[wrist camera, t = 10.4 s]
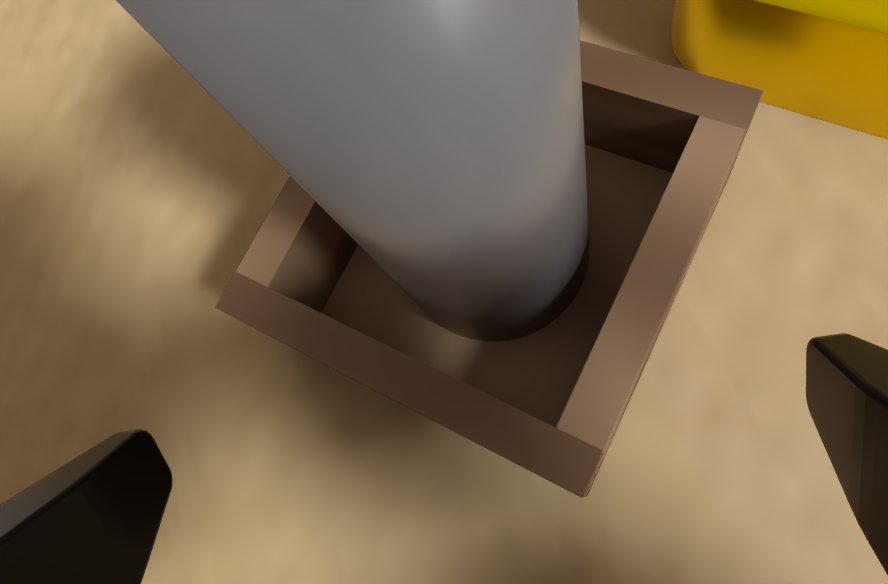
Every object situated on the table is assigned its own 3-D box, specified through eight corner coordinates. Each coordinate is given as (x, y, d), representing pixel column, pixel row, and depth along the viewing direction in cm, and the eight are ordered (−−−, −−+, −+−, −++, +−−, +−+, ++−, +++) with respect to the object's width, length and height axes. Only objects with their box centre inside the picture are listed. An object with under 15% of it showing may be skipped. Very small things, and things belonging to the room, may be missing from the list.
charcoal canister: (478, 380, 17) (204, 137, 5) (373, 244, 19) (-7, -165, 7) (629, 259, 17) (695, -253, 5) (510, 135, 19) (359, -455, 7)
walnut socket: (586, 495, 16) (581, 497, 13) (289, 342, 20) (214, 307, 16) (730, 173, 18) (763, 91, 14) (432, 78, 21) (395, -10, 17)
